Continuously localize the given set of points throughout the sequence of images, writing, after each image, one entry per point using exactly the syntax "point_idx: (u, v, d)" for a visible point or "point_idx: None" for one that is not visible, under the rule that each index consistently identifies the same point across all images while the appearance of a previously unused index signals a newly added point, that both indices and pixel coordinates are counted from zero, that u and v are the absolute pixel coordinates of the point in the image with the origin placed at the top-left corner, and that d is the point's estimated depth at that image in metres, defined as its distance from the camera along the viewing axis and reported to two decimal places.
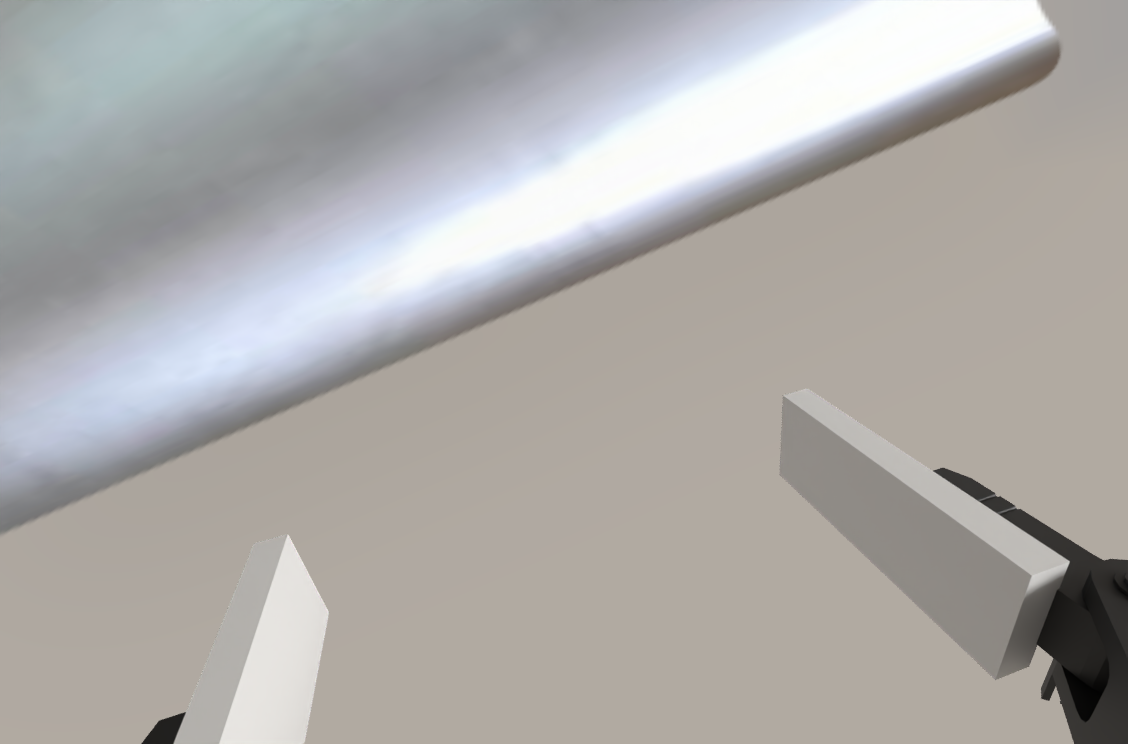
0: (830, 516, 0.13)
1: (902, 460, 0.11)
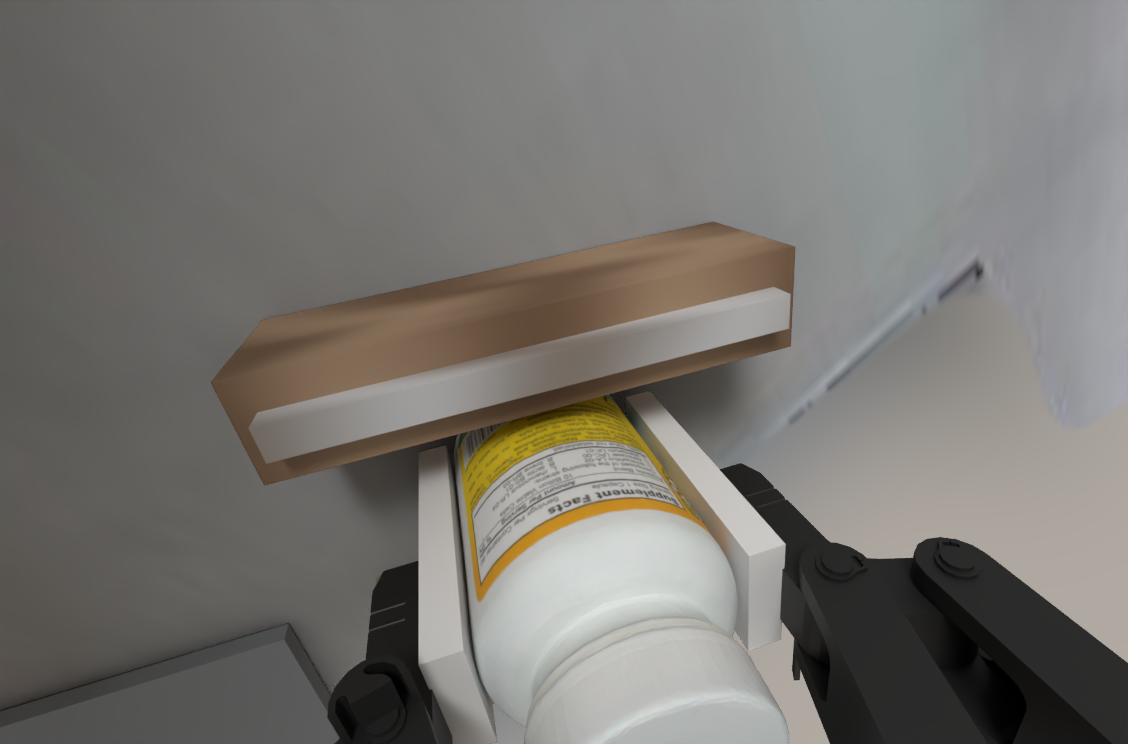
0: None
1: (696, 456, 0.12)
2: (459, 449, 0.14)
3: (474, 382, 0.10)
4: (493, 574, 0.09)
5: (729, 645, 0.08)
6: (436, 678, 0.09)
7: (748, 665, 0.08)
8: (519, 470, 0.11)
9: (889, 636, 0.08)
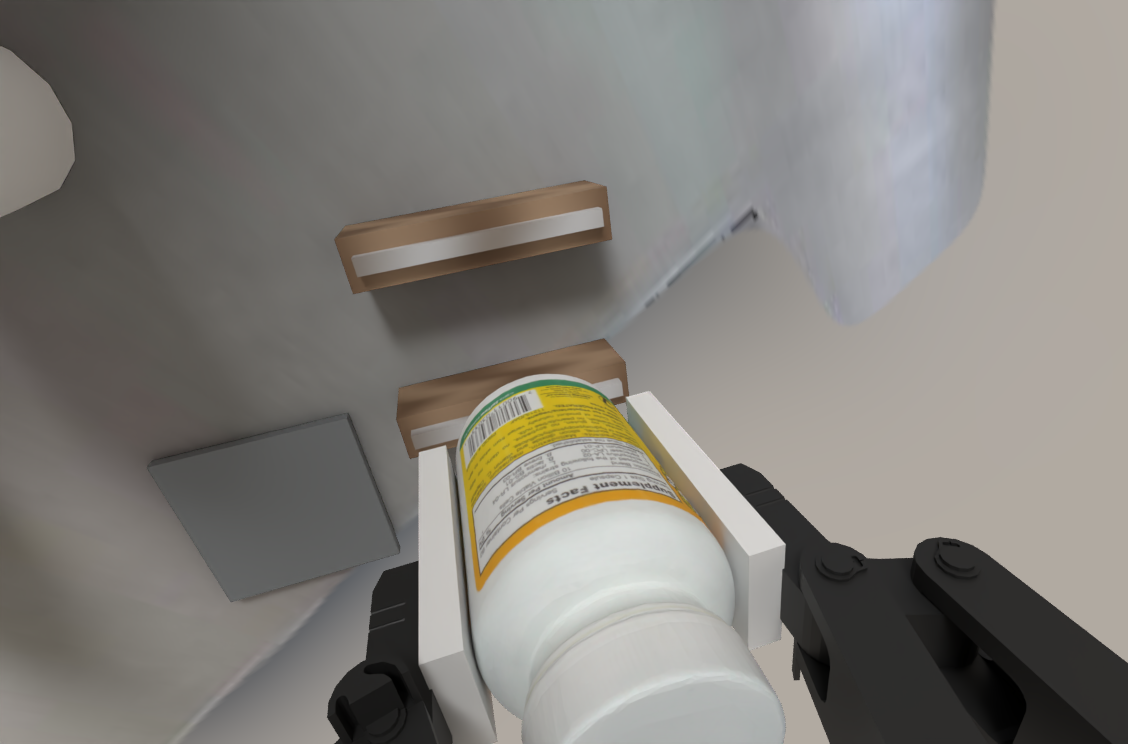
0: None
1: (696, 456, 0.12)
2: (461, 450, 0.14)
3: (450, 244, 0.22)
4: (492, 564, 0.10)
5: (724, 630, 0.08)
6: (436, 678, 0.09)
7: (743, 649, 0.08)
8: (519, 465, 0.11)
9: (889, 636, 0.08)
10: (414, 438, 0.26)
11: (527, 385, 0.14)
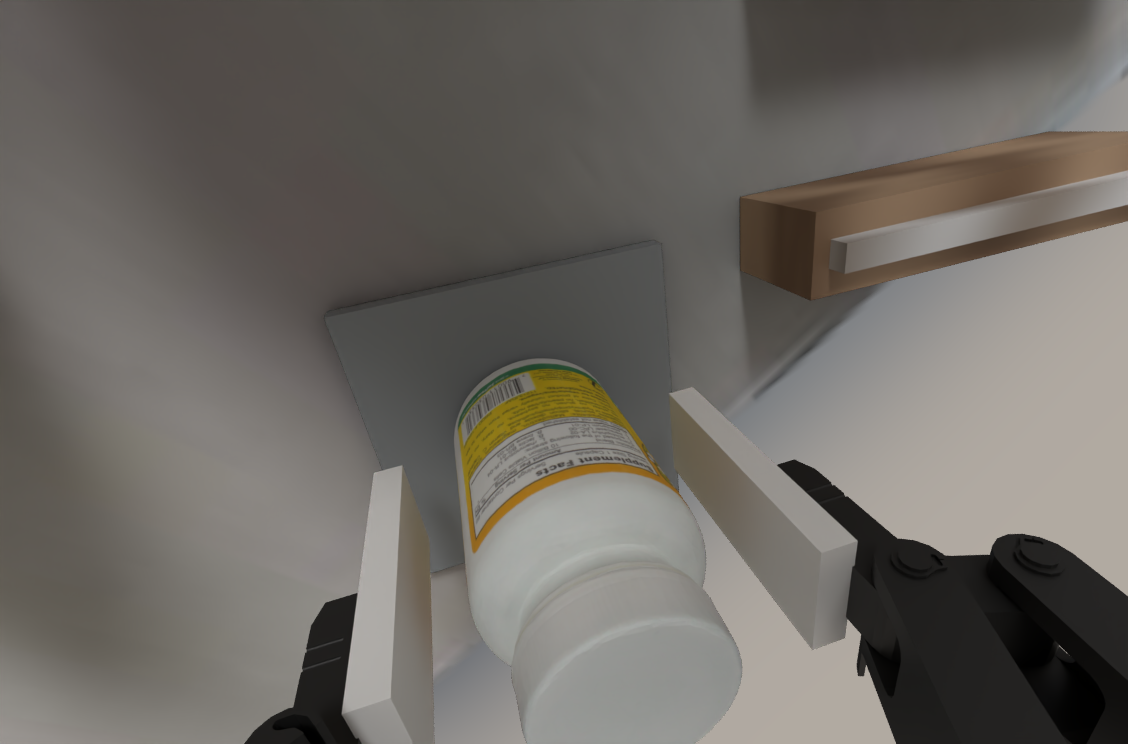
0: (707, 506, 0.14)
1: (751, 452, 0.12)
2: (459, 429, 0.15)
3: None
4: (487, 529, 0.11)
5: (690, 585, 0.09)
6: (362, 727, 0.08)
7: (706, 602, 0.09)
8: (511, 442, 0.12)
9: (968, 636, 0.08)
10: (851, 248, 0.13)
11: (521, 369, 0.15)
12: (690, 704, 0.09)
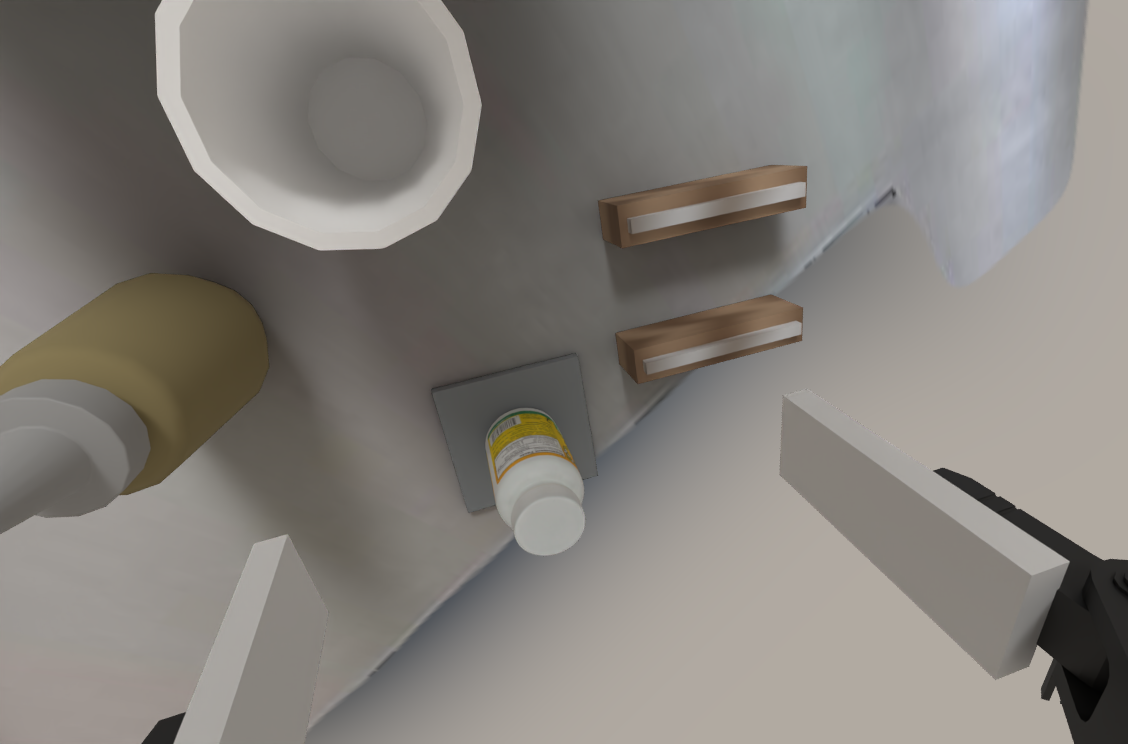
0: (830, 516, 0.13)
1: (902, 460, 0.11)
2: (488, 440, 0.35)
3: (698, 209, 0.30)
4: (502, 475, 0.30)
5: (568, 490, 0.29)
6: None
7: (573, 495, 0.29)
8: (511, 444, 0.32)
9: None
10: (648, 365, 0.33)
11: (515, 413, 0.35)
12: (568, 529, 0.29)
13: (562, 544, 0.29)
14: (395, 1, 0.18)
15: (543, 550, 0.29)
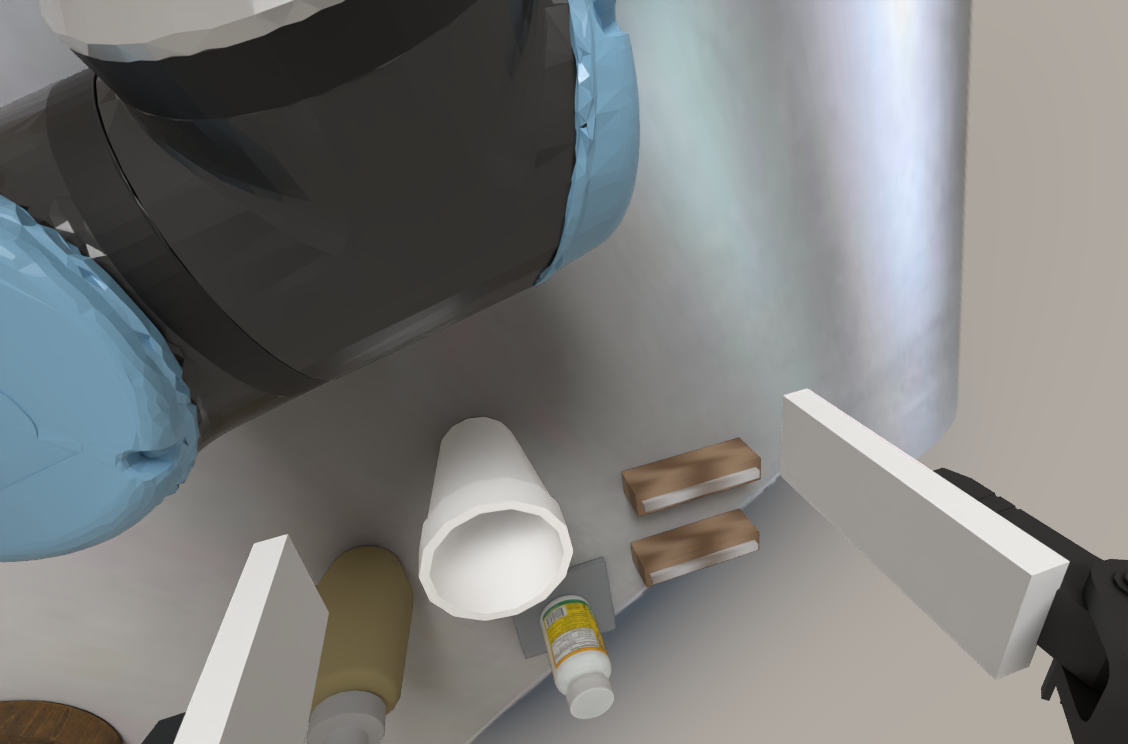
0: (830, 516, 0.13)
1: (902, 460, 0.11)
2: (543, 621, 0.51)
3: (688, 494, 0.46)
4: (559, 663, 0.46)
5: (603, 679, 0.45)
6: None
7: (606, 682, 0.45)
8: (563, 636, 0.48)
9: None
10: (653, 579, 0.49)
11: (562, 602, 0.51)
12: (603, 703, 0.45)
13: (599, 712, 0.45)
14: None
15: (587, 716, 0.45)
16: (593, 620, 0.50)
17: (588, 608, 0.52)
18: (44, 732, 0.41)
